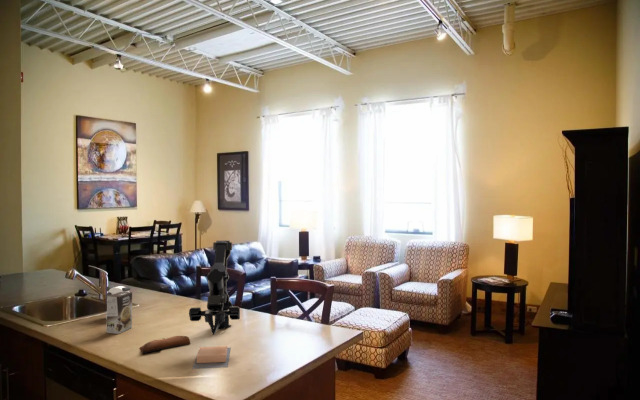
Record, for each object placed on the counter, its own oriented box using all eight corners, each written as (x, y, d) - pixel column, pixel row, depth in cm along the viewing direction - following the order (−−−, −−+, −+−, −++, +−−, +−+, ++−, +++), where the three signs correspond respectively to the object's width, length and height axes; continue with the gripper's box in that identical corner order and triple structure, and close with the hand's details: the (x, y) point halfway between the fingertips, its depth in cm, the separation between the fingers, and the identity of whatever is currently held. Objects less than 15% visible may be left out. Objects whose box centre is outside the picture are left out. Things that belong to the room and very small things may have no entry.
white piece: (99, 318, 203) (99, 287, 203) (117, 312, 214) (117, 283, 214) (119, 321, 199) (119, 289, 199) (136, 315, 210) (137, 285, 210)
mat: (199, 350, 163) (199, 348, 163) (230, 349, 165) (230, 347, 165) (192, 370, 144) (192, 368, 144) (227, 368, 146) (227, 367, 146)
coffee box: (119, 334, 181) (119, 296, 181) (105, 333, 182) (106, 295, 182) (132, 327, 190) (132, 292, 190) (119, 326, 191) (120, 291, 191)
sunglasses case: (183, 339, 175) (186, 327, 173) (188, 352, 170) (191, 340, 168) (137, 348, 165) (139, 335, 162) (141, 362, 160) (143, 349, 157)
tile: (200, 347, 158) (196, 356, 149) (227, 345, 159) (225, 354, 150) (199, 354, 158) (196, 363, 149) (227, 353, 159) (225, 362, 150)
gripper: (189, 286, 160) (184, 324, 149) (239, 285, 163) (238, 322, 152) (192, 302, 168) (188, 339, 157) (240, 300, 171) (239, 337, 160)
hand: (213, 334), depth 156 cm, fingers closed
